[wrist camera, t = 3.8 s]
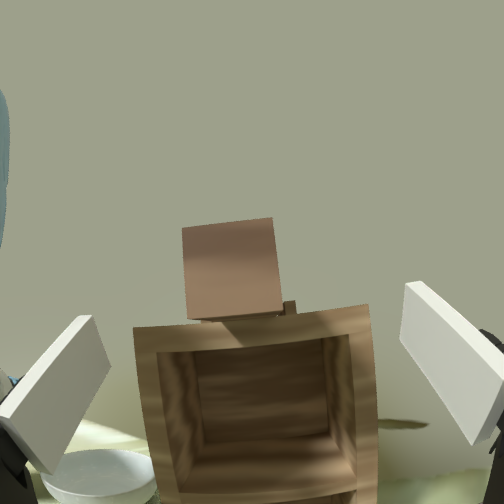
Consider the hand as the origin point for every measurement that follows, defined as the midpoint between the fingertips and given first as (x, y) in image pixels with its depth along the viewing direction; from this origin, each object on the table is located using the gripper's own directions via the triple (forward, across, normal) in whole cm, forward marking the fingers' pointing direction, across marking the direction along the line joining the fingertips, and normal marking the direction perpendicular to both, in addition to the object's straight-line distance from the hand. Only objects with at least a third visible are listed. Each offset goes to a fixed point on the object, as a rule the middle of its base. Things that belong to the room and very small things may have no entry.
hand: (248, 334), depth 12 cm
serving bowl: (+11, -29, -41) cm, 51 cm away
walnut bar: (+11, -1, -6) cm, 13 cm away
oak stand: (0, 0, -34) cm, 34 cm away
